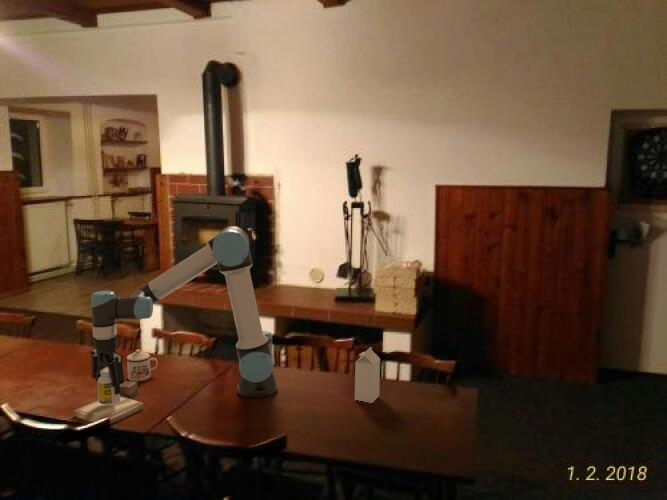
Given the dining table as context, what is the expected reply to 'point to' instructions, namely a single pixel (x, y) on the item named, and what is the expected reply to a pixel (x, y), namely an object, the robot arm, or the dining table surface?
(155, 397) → the dining table surface
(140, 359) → the teacup with lid
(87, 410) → the beech board
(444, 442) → the dining table surface
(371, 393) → the milk carton
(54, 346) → the dining table surface
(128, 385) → the walnut cube
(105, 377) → the pill bottle
